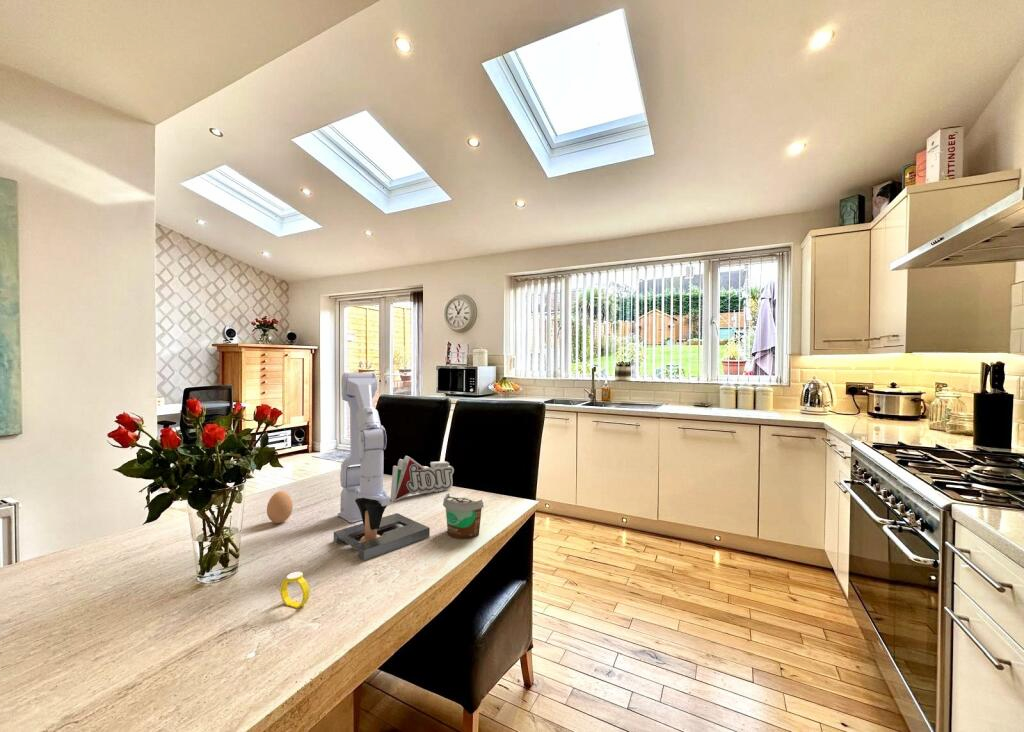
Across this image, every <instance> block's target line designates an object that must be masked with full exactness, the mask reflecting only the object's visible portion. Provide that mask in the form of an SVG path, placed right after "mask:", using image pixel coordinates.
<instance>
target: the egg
mask: <svg viewBox="0 0 1024 732" xmlns="http://www.w3.org/2000/svg"><path fill="white" fill-rule="evenodd" d="M266 505H267V506H266V514H267V518H268V519H269V520H270V521H271V522H272V523H274V524H283V523H284V522H286V521H287V520H288V519H289V518H290V516H291V515H292V512H293V506H294V505H293V500H292V498H291V496H290V495H289V494H288V493H287V492H285V491H281V490H280V491H277V492H275V493H274V494H273V495H271V497H270V499H269V500H268V503H267V504H266Z"/></svg>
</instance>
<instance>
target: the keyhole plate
mask: <svg viewBox="0 0 1024 732" xmlns="http://www.w3.org/2000/svg"><path fill="white" fill-rule="evenodd" d="M398 525H400V526H399V527H397V528H394V529H391V530H388V531H384V532H383V533H382V535H380V537H377V538H374V539H371V540H368V541H365V542H362V543H360V541H358V540H356V538H358V537H361V536H362V537H363V536H365V526H364V525H363V522H362V523H359V524H355V525H352V526H348V527H345V528H342V529H338V530H335V531H333V542H334V543H336V544H340V543H342V542H345V543H346V544H348V545H349V546H351V547H352V548H353V549H355V550H357V551H359V559H360V560H362V561H364V562H366V561H368V560H370V559H373V558H375V557H378V556H381V555H384V554H387V553H390V552H392V551H395V550H397V549H401V548H403V547H406V546H409V545H411V544H414V543H417V542H419V541H420V542H421V541H422V540H425V539H428V538H430V534H431V533H430V530H431V529H430V527H429V526H427V525H424V524H422V523H420V522H418V521H416V520H414V519H411V518H409V517H406V516H404V515H403V514H400V513H393V514H390V515H386V516H382V519H381V522H380V526H379V528H377V532H378V531H381V530H386V529H388V528H390V527H394V526H398Z"/></svg>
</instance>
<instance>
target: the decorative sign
mask: <svg viewBox="0 0 1024 732" xmlns="http://www.w3.org/2000/svg"><path fill="white" fill-rule="evenodd" d="M429 464H430V467H429V466H426V465H425V466H424V465H421V464H420V463H418V462H417V461H416V460H415V459H414V458H412V457H410V456H408V455H405V456H404V458H403V459H402V458H399V459H398V461H397V465H393V466H392V475H391V476H392V477H391V485H390V486H391V487H390V496H389V497H390V499H391V500H390V501H392V500H393V501H395V502H397V501H396V500H398V501H400V500H401V499H403V498H406V497H408V496H410V495H416V494H420V495H422V494H429V493H433V492H435V493H439V492H444V491H443V490H447V491H449V490H451V488H453V487H452V486H453V485H454V484H453V483H454V482H453V474H454V472H455V469H454V467H453V466H452V465H450V462H448V461H445V460H442V461H430V463H429ZM448 489H449V490H448ZM438 491H439V492H438ZM393 501H392V502H393Z"/></svg>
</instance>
